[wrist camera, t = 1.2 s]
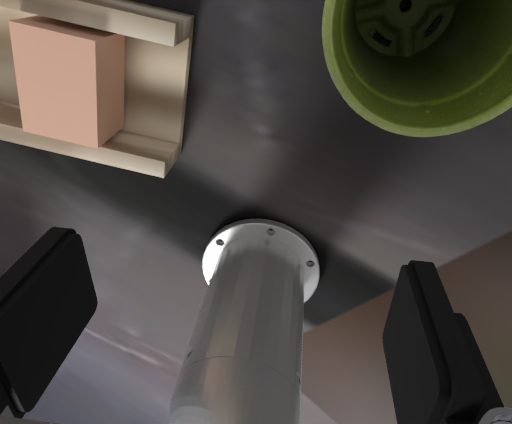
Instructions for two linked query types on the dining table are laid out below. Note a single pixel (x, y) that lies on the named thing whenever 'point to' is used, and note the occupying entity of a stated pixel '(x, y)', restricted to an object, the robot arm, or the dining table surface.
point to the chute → (135, 81)
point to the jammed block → (69, 79)
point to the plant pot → (421, 62)
